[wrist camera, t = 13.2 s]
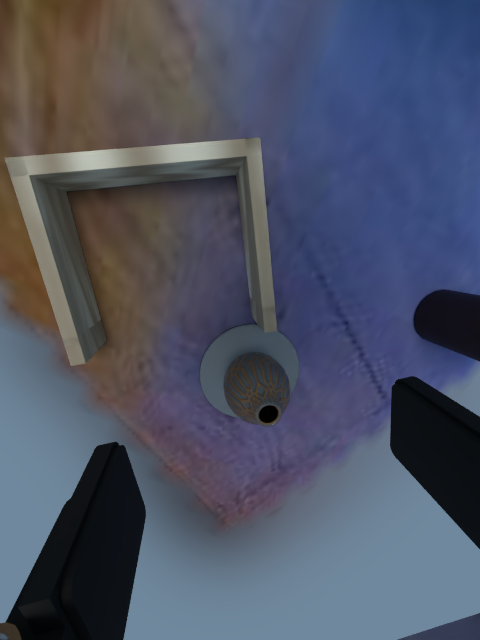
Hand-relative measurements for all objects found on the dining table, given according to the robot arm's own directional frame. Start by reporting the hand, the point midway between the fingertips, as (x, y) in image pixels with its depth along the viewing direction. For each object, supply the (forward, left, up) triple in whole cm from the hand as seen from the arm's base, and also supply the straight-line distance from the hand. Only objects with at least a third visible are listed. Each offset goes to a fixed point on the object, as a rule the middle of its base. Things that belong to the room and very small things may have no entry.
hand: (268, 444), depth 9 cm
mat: (-3, +8, -22) cm, 24 cm away
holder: (+4, -7, -22) cm, 23 cm away
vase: (-3, +8, -22) cm, 23 cm away
